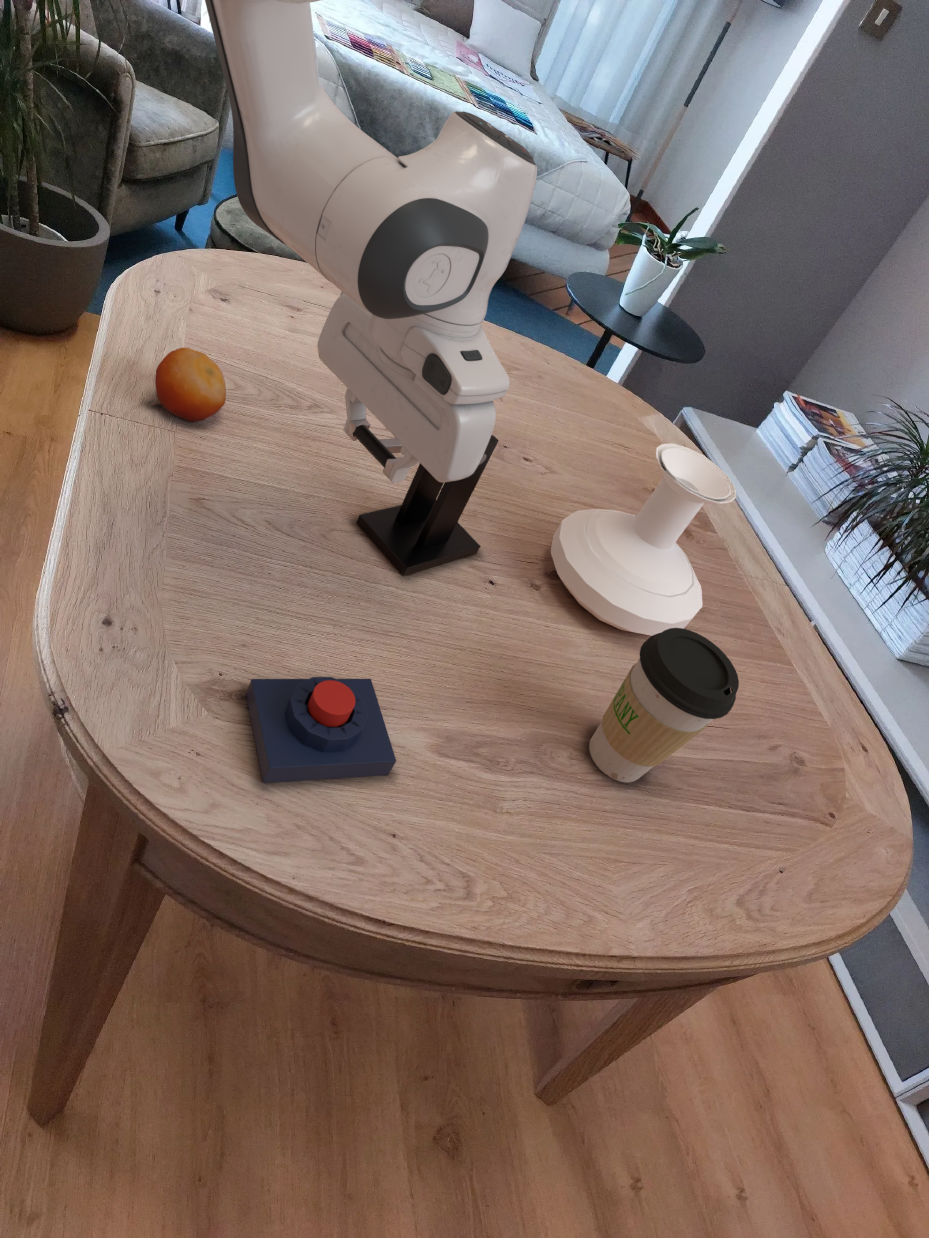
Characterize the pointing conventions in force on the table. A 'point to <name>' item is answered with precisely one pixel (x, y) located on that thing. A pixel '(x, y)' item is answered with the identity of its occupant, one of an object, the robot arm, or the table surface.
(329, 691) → the button
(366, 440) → the lever
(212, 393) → the fruit
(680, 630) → the coffee cup
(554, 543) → the candle holder
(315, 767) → the control block
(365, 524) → the bracket
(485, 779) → the table surface
